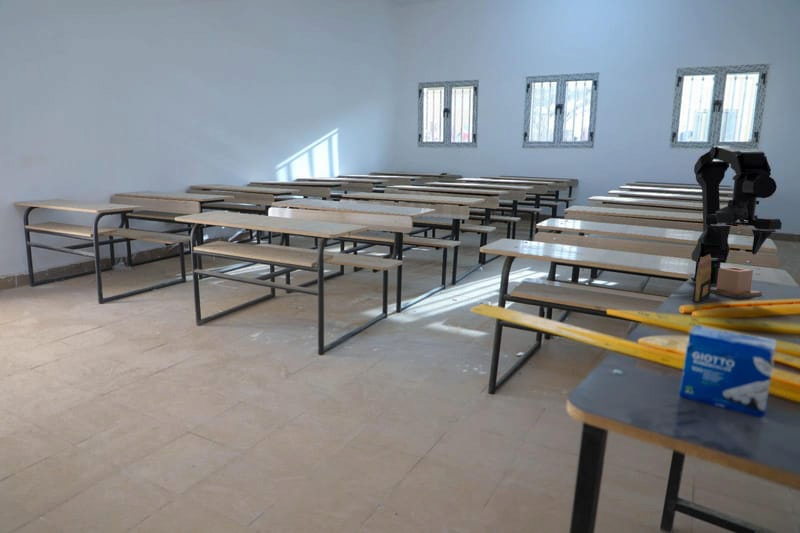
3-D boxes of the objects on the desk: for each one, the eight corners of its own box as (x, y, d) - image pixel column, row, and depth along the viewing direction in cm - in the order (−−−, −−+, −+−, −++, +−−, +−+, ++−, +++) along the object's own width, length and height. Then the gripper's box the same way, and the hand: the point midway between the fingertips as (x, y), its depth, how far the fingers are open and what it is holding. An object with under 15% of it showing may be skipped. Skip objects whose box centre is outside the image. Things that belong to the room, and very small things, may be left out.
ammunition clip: (700, 302, 145) (705, 258, 143) (692, 301, 146) (697, 257, 144) (709, 296, 153) (714, 253, 151) (702, 295, 154) (706, 253, 152)
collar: (716, 288, 159) (718, 268, 158) (730, 286, 161) (732, 266, 160) (736, 292, 153) (738, 271, 152) (750, 291, 156) (752, 270, 155)
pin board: (705, 291, 160) (706, 274, 159) (728, 288, 164) (730, 272, 163) (737, 298, 151) (740, 280, 150) (761, 295, 155) (763, 278, 154)
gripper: (694, 195, 158) (689, 249, 160) (759, 198, 141) (751, 258, 144) (720, 195, 162) (715, 247, 165) (786, 198, 145) (778, 256, 148)
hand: (738, 252), depth 155 cm, fingers open, 9 cm apart
